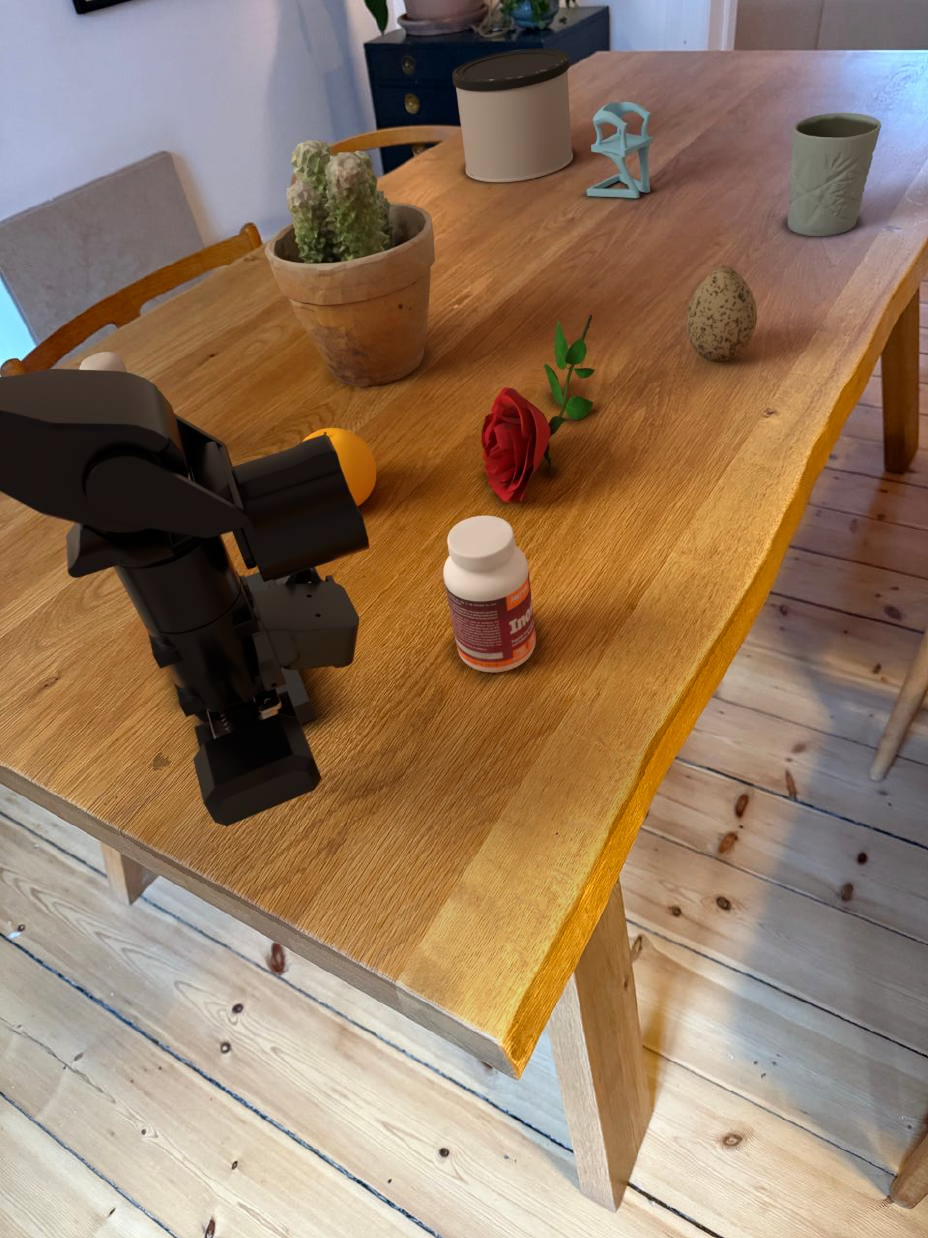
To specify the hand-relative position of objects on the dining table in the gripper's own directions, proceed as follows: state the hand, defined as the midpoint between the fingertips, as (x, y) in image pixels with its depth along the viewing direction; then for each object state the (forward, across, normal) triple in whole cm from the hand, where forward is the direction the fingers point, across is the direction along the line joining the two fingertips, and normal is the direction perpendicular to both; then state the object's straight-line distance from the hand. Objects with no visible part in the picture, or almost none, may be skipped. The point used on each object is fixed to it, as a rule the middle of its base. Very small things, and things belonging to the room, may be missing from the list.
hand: (270, 768), depth 60 cm
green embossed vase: (+3, +55, -89) cm, 105 cm away
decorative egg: (+3, +33, -58) cm, 67 cm away
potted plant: (+3, +56, -26) cm, 62 cm away
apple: (+3, +31, -14) cm, 34 cm away
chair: (+3, +85, -76) cm, 114 cm away
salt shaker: (+3, +49, +3) cm, 49 cm away
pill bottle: (+3, +5, -19) cm, 20 cm away
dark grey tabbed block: (+3, +10, 0) cm, 11 cm away
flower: (+3, +31, -36) cm, 48 cm away
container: (+3, +110, -70) cm, 131 cm away
